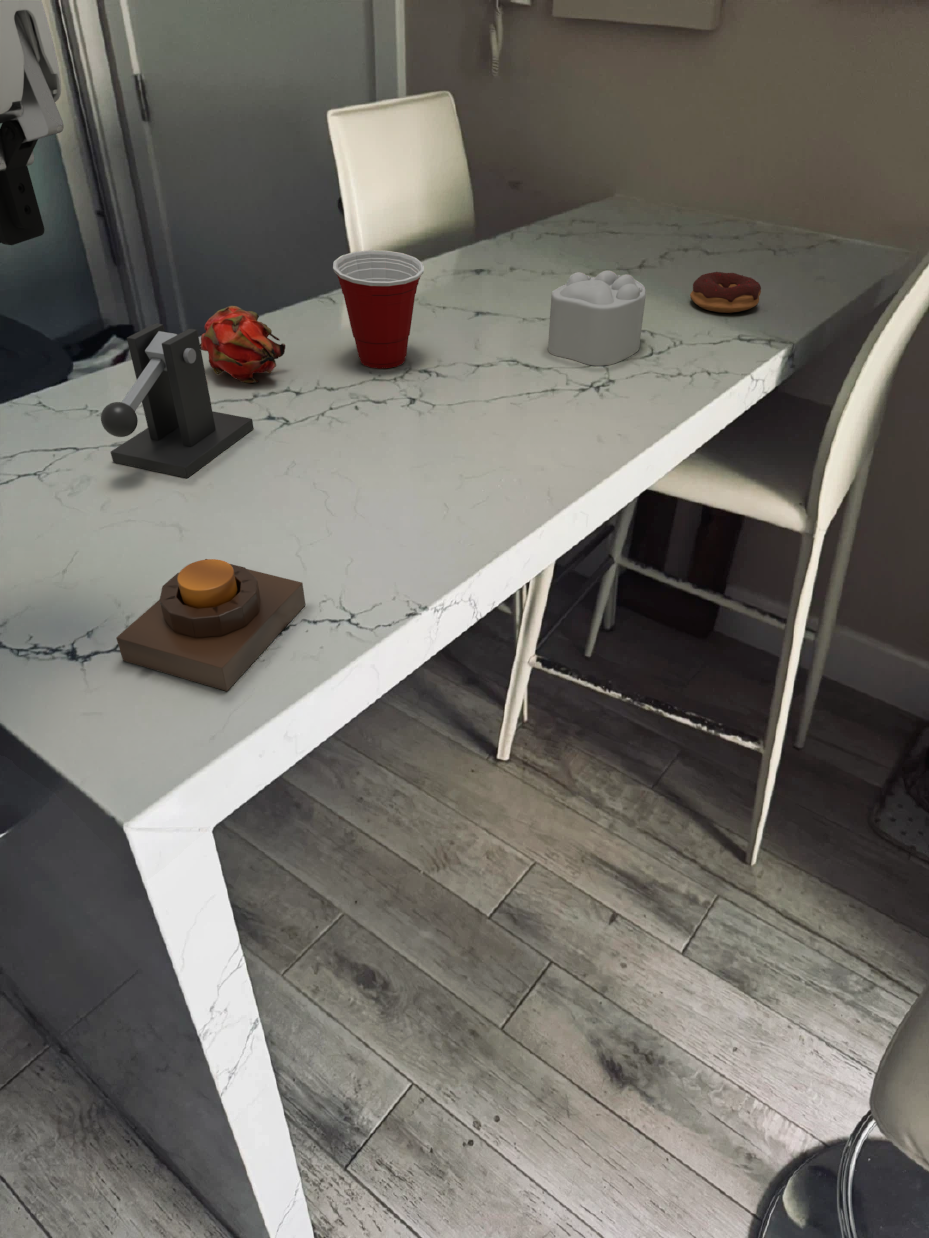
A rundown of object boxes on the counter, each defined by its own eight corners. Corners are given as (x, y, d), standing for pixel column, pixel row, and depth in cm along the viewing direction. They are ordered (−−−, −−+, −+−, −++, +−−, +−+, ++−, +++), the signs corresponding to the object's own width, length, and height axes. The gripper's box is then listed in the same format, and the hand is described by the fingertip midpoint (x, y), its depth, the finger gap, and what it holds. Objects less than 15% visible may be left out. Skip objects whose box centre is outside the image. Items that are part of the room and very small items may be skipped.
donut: (696, 291, 133) (700, 264, 130) (762, 299, 130) (768, 271, 127) (682, 311, 125) (686, 282, 123) (752, 320, 122) (757, 291, 120)
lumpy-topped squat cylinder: (537, 350, 113) (540, 281, 108) (591, 323, 121) (596, 258, 116) (606, 370, 108) (613, 299, 103) (657, 340, 116) (666, 273, 111)
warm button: (217, 614, 62) (212, 595, 61) (170, 602, 64) (165, 582, 62) (247, 584, 65) (244, 565, 64) (202, 573, 66) (198, 554, 65)
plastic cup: (372, 385, 104) (365, 282, 97) (324, 358, 111) (314, 260, 103) (444, 363, 109) (443, 264, 102) (394, 339, 116) (389, 244, 109)
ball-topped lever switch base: (187, 478, 86) (162, 362, 79) (112, 462, 88) (82, 348, 81) (253, 428, 95) (236, 320, 87) (184, 415, 97) (162, 308, 90)
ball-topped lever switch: (132, 446, 82) (116, 423, 79) (105, 441, 83) (87, 417, 80) (193, 356, 87) (179, 331, 84) (166, 352, 88) (152, 327, 85)
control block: (227, 691, 61) (217, 647, 59) (122, 660, 64) (109, 617, 61) (305, 604, 69) (300, 563, 67) (210, 580, 72) (201, 539, 70)
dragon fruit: (223, 369, 112) (279, 410, 106) (170, 346, 104) (227, 389, 99) (253, 309, 110) (311, 347, 104) (201, 281, 103) (261, 321, 97)
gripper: (-278, -157, 42) (-123, 241, 54) (-44, -167, 38) (70, 268, 49) (-142, -145, 48) (-28, 214, 59) (76, -153, 44) (154, 236, 55)
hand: (17, 238), depth 54 cm, fingers closed
